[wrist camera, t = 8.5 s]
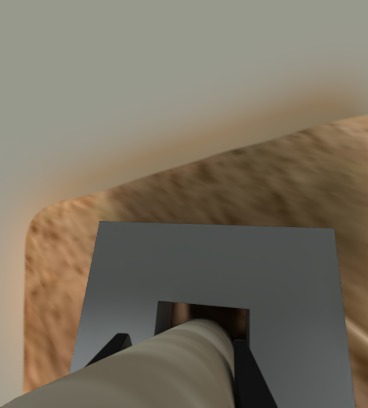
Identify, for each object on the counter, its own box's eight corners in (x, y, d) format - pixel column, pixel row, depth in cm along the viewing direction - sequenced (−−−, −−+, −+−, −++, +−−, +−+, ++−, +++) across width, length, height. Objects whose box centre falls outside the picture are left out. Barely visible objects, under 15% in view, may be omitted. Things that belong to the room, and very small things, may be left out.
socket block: (337, 516, 13) (378, 601, 9) (87, 458, 16) (42, 506, 12) (313, 243, 18) (334, 228, 14) (123, 235, 20) (99, 221, 17)
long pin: (247, 372, 14) (344, 874, 2) (187, 403, 14) (-135, 1121, 2) (215, 306, 15) (147, 330, 3) (161, 334, 15) (-116, 465, 3)
